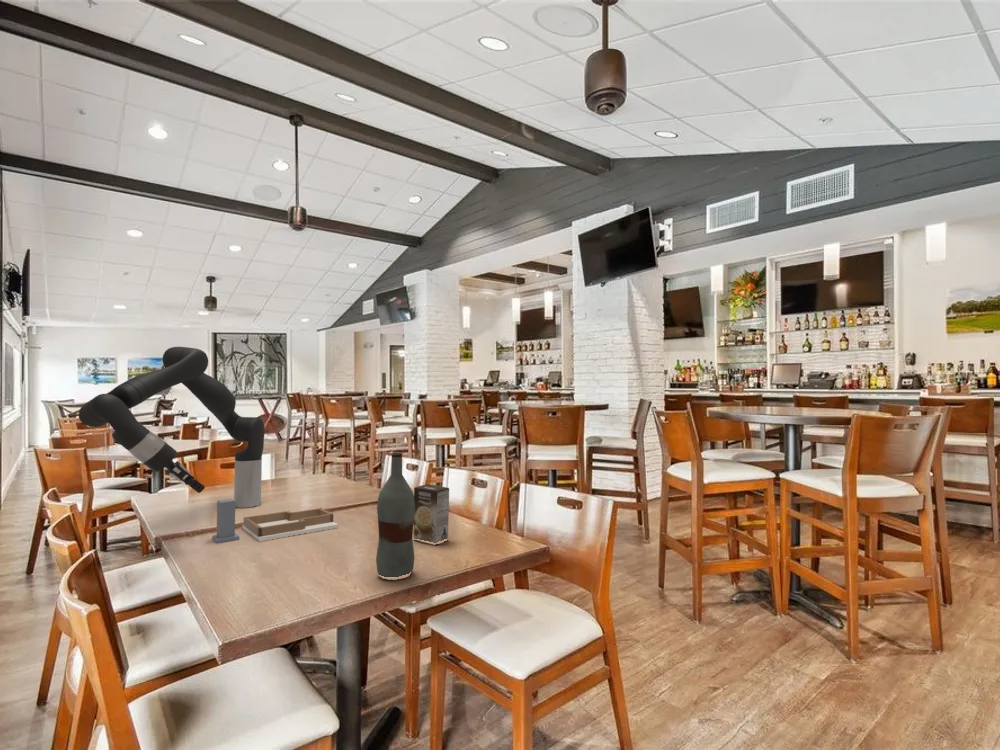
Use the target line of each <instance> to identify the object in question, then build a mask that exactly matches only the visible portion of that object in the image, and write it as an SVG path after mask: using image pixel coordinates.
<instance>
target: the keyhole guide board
mask: <svg viewBox="0 0 1000 750" xmlns="http://www.w3.org/2000/svg"><path fill="white" fill-rule="evenodd" d="M333 528H335V529H338V528H339V524H338V523H336V522H334V513H332V512H330V511H328V510H326V509H324V508H322V507H319V508H313V509H307V510H306V509H305V510H299V511H293V512H291V511H290V510H288V511H287V510H286V511H278V512H272V513H271V512H270V513H266V514H265V513H264V514H259V515H251V516H244V517H243V524H242V529H243V530H244V531H245V532H246V533H248V534H249V535H250V536H252V537H253V538H254V539H255V540H257V542H259V543H261V542H266V540H267V541H273V540H277V538H279V539H283V537H284V538H289V537H288V536H290V537H294V536H293V535H295V536H299V535H298V534H301V535H305V534H304V533H307V534H311V533H310V532H312V533H316V531H318V532H322V530H324V531H328V529H329V530H334V529H333ZM272 539H273V540H272Z"/></svg>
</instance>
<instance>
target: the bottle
mask: <svg viewBox="0 0 1000 750" xmlns="http://www.w3.org/2000/svg"><path fill="white" fill-rule="evenodd" d="M390 464H391V466H390V467H391V468H390V476H389V477H388V479H387V481H386V482H385V483H384V485H383V486H382V488H381V490H380V491H379V494H378V497H377V504H376V511H377V512H376V513H377V522H378V523H377V524H378V543H377V548H376V549H377V550H376V557H375V558H376V559H375V562H376V571H377V575H378V574H379V575H381V576H384V577H399V576H402V575H406V574H409V573H410V572H412V573H413V571H412V570H414V565H415V559H416V558H415V557H416V556H415V549H414V542H413V541H414V540H413V528H414V513H415V500H414V490H413V489H412V488H411V487H410V485H409V483H408V482H407V480H406V478H405V477H404V475H403V452H401V451H398V452H397V451H395V452H391V463H390Z"/></svg>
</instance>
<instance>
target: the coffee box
mask: <svg viewBox="0 0 1000 750" xmlns="http://www.w3.org/2000/svg"><path fill="white" fill-rule="evenodd" d="M413 489H414V490H413V495H414V500H415V513H414V523H413V535H412V539H413V538H414V539H420V540H424V541H429V542H433V543H437V542H439V541H442V540H444V539H447V538H448V539H449V520H450V519H449V515H450V506H449V505H450V488H449V487H448V486H447V487H445V486H440V485H434V484H429V483H426V484H423V485H419V486H414V488H413Z"/></svg>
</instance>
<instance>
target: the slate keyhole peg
mask: <svg viewBox="0 0 1000 750" xmlns="http://www.w3.org/2000/svg"><path fill="white" fill-rule="evenodd" d="M216 501H217V502H216V503H217V504H216V534H213V535H211V539H212V540H213V541H214V542H215V543H216V544H222V543H229V542H233V541H239V540H240V535H239V534H237V533H236V507H235V500H234V498H225V499H217V500H216Z"/></svg>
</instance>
